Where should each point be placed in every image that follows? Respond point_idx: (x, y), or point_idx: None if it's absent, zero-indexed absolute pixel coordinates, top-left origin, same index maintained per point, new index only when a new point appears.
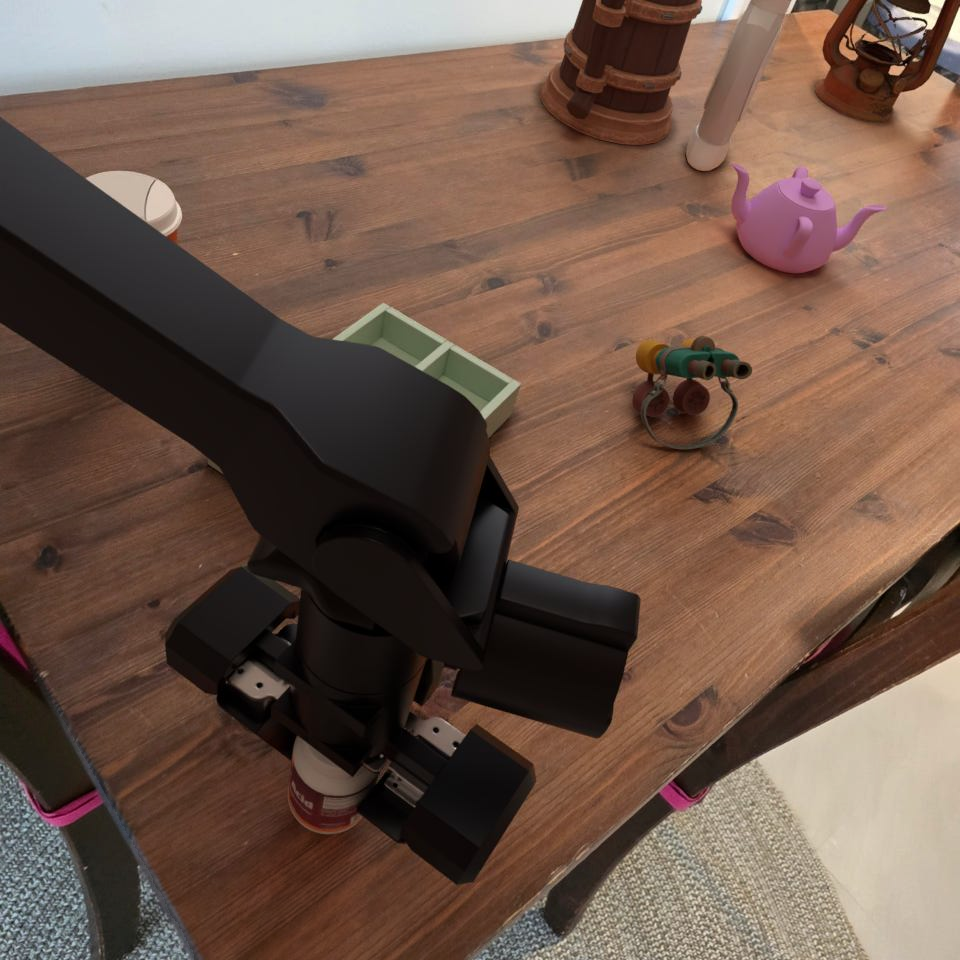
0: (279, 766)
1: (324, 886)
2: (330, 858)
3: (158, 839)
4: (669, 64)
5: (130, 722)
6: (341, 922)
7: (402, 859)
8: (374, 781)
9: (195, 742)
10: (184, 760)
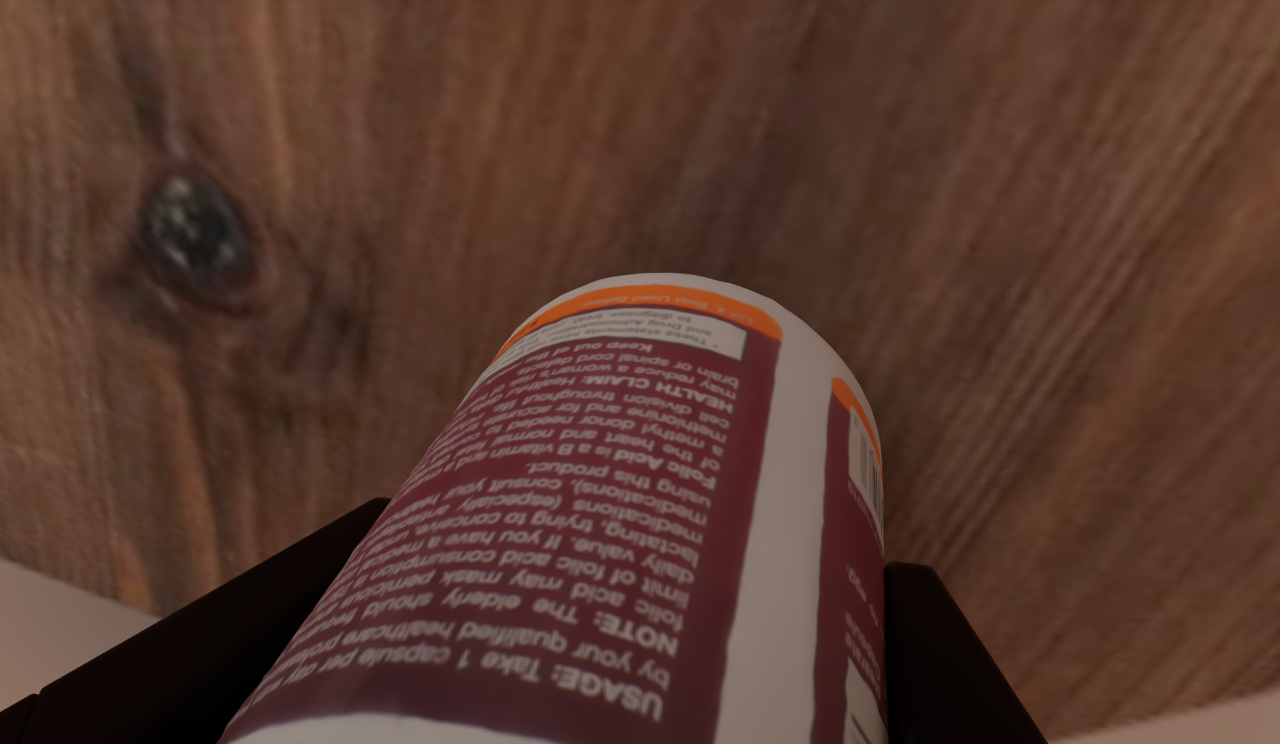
0: (441, 367)
1: None
2: None
3: None
4: None
5: (28, 482)
6: (1011, 682)
7: (1147, 427)
8: None
9: (185, 441)
10: (221, 499)
